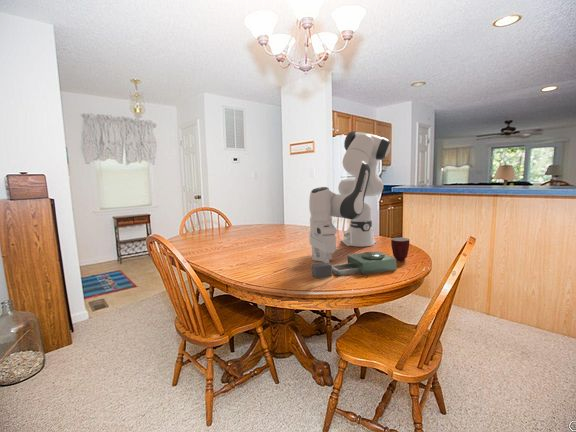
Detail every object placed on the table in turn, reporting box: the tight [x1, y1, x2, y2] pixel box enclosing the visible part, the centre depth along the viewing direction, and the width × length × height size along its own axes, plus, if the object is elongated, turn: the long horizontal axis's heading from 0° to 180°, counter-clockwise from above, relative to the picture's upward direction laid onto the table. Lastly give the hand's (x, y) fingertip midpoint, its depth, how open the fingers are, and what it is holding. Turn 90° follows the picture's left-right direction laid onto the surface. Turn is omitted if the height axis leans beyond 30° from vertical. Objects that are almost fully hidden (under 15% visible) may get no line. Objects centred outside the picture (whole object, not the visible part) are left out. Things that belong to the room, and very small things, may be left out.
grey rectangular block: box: [311, 261, 333, 279], centre depth 127 cm, size 5×7×5 cm
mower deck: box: [331, 250, 397, 277], centre depth 133 cm, size 14×26×6 cm, turn 105°
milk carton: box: [311, 245, 333, 262], centre depth 150 cm, size 7×7×19 cm
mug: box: [390, 237, 410, 262], centre depth 142 cm, size 11×8×10 cm
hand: (322, 259), depth 126 cm, fingers open, 8 cm apart
